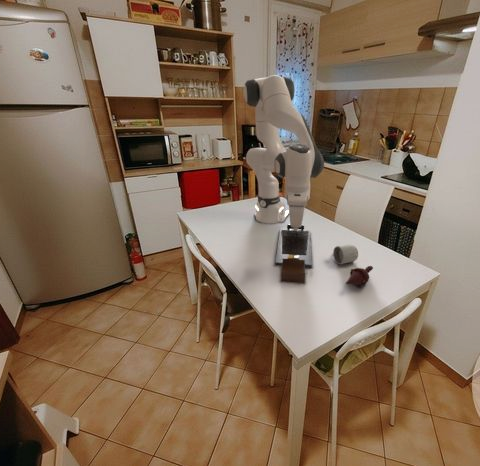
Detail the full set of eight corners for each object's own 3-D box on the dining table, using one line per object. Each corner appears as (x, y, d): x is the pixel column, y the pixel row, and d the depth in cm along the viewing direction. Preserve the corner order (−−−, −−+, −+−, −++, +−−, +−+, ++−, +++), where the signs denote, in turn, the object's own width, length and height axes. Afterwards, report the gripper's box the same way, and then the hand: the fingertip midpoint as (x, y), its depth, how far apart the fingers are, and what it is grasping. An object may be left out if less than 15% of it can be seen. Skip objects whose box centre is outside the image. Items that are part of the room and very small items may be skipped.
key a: (298, 250, 117) (298, 251, 117) (293, 249, 118) (293, 249, 119) (291, 258, 113) (291, 259, 113) (286, 257, 114) (286, 258, 114)
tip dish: (309, 231, 97) (309, 224, 99) (281, 229, 97) (282, 223, 100) (306, 255, 108) (306, 248, 110) (281, 254, 109) (282, 247, 111)
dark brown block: (304, 283, 100) (305, 273, 97) (280, 281, 100) (281, 271, 98) (304, 269, 108) (305, 259, 105) (282, 268, 108) (282, 258, 106)
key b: (291, 250, 119) (291, 251, 119) (287, 251, 118) (287, 252, 118) (300, 257, 114) (300, 258, 114) (295, 258, 113) (295, 259, 113)
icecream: (358, 284, 90) (381, 271, 98) (342, 269, 94) (366, 258, 103) (350, 297, 94) (373, 283, 102) (335, 282, 98) (358, 271, 107)
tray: (311, 268, 109) (311, 264, 108) (275, 265, 110) (275, 262, 109) (309, 233, 136) (309, 230, 135) (280, 231, 137) (280, 228, 137)
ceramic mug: (358, 264, 111) (360, 248, 108) (341, 267, 109) (343, 251, 105) (343, 252, 120) (346, 237, 117) (328, 255, 118) (330, 240, 114)
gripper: (289, 184, 103) (288, 217, 109) (287, 202, 85) (286, 240, 91) (305, 185, 102) (303, 217, 108) (306, 202, 84) (304, 240, 90)
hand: (295, 228), depth 99 cm, fingers closed on tip dish, 2 cm apart
